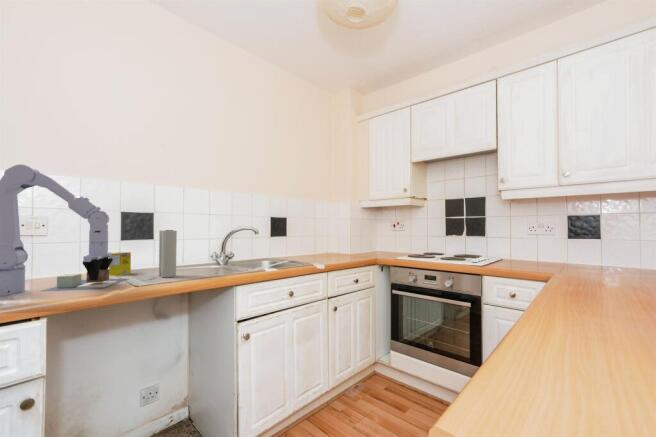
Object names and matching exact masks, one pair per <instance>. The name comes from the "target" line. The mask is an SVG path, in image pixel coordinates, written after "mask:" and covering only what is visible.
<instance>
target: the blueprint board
mask: <svg viewBox="0 0 656 437" xmlns="http://www.w3.org/2000/svg"><path fill="white" fill-rule="evenodd" d="M128 280H129V278H109V280H107V281H104V282H93V283H87V279H81V285H78V286H75V287H61V288H57V285H56V286H53V287H49V288H47V289H44V290H41V292H57V291H58V292H60V291H89V290H90V291H91V290H105V289H107V288H109V287H112V286H115V285H117V284H119V283H122V282H125V281H128Z"/></svg>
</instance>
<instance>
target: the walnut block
mask: <svg viewBox="0 0 656 437" xmlns="http://www.w3.org/2000/svg"><path fill="white" fill-rule="evenodd" d="M109 279H110V275H109V268H108V269H106V270H99V274H98V279H97V280H90V279H89V275H88V272H87V271H86V280H87V283H93V282H104V281H107V280H109Z"/></svg>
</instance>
